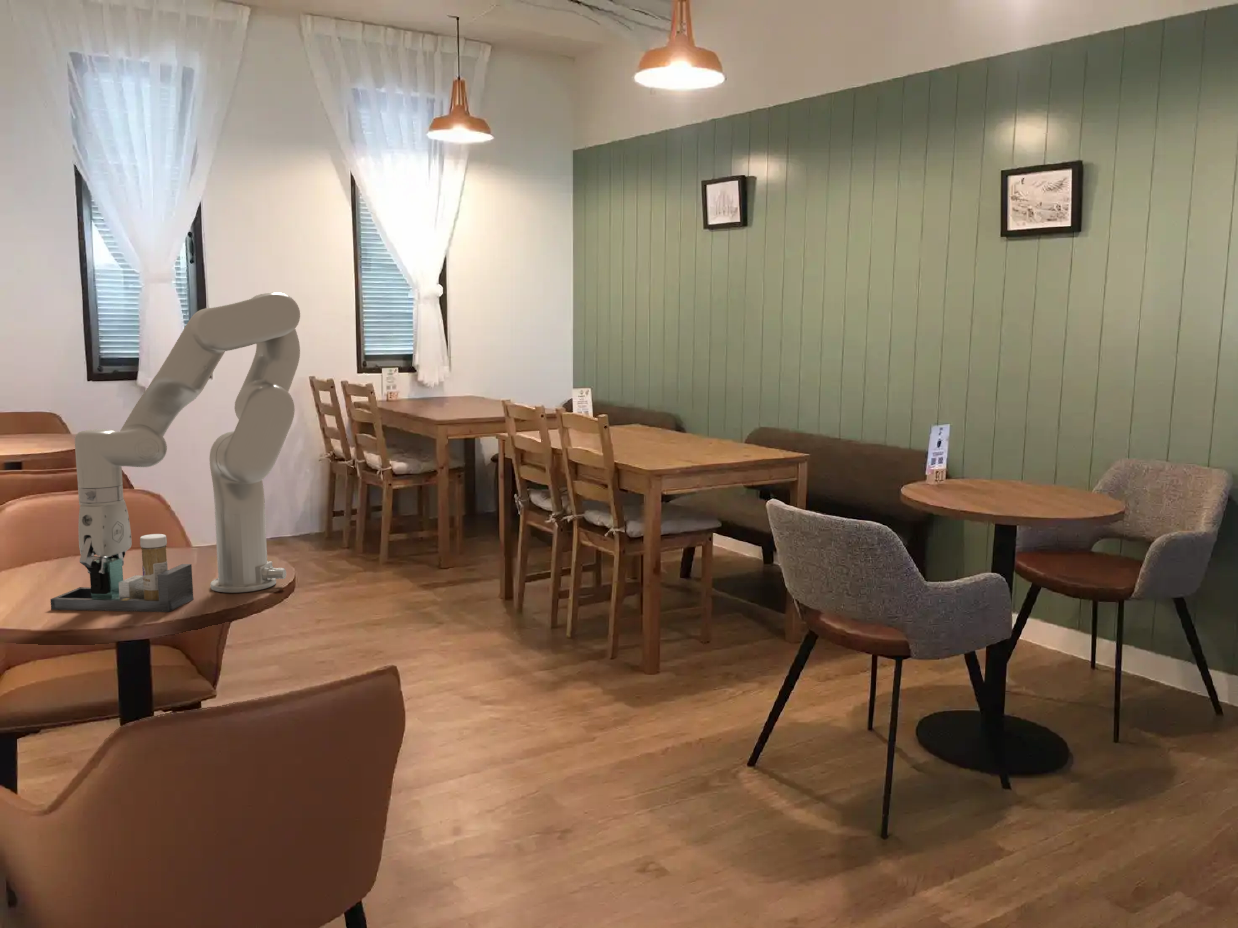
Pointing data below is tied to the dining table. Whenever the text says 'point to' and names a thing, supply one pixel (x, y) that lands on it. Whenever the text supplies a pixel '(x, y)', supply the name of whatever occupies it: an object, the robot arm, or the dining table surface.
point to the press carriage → (120, 582)
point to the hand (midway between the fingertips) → (107, 589)
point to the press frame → (172, 595)
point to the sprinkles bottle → (153, 563)
